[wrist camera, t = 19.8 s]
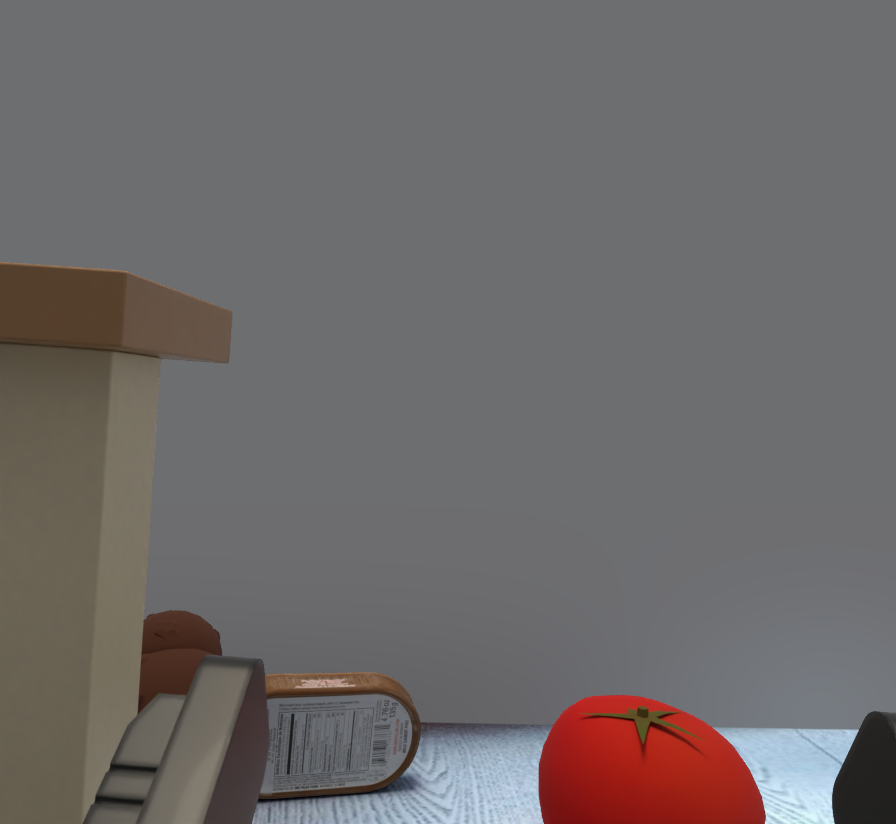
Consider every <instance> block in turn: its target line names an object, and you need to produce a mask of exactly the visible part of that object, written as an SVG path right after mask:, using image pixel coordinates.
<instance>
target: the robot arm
mask: <svg viewBox="0 0 896 824" xmlns="http://www.w3.org/2000/svg"><path fill="white" fill-rule="evenodd" d="M268 750H269V722H268V709H267V697H266V685H265V673H264V664H263V661H262V660H261V659H256V658H243V657H231V656H219V655H205V656H204V657H203V658H202V660H201V662H200V664H199V666H198V668H197V671H196V673H195V676H194V678H193V681H192V683H191V686H190V688H189V691H188V693H187V695H174V694H162V693H158V694H157V695H156V696H155V697H154V698H153V699H152V701H151V702H150V703H149V704H148V705H147V706H146V707H145V708H144V709H143V710H142V711H141V712H140V713H139V714H138V715H137V716H136V717H135V718H134V719H133V720H132V721H131V722H130V723H129V724H128V725H127V727H126V730H125V732H124V734H123V736H122V738H121V741H120V743H119V745H118V747H117V749H116V752H115V754H114V756H113V758H112V760H111V762H110V768H109V771H108V772H106V773H105V776H104V778H103V780H102V782H101V784H100V786H99V789H98V791H97V793H96V795H95V802H94V804H91V806H90V808H89V811H88V813H87V815H86V817H85V819H84V821H83V824H252V820H253V816H254V813H255V809H256V805H257V802H258V798H259V794H260V791H261V787H262V783H263V779H264V775H265V770H266V765H267V758H268ZM832 808H833V817H834V822H835V824H896V713H888V712H877V711H874V712H871V713H869V714H868V715H867V716H866V717H865V719H864V721H863V723H862V725H861V727H860V729H859V731H858V733H857V736H856V738H855V740H854V742H853V744H852V746H851V748H850V750H849V752H848V755H847V757H846V759H845V761H844V763H843V765H842V767H841V769H840V771H839V774H838V776H837V778H836V780H835V783H834V787H833V794H832Z"/></svg>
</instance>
